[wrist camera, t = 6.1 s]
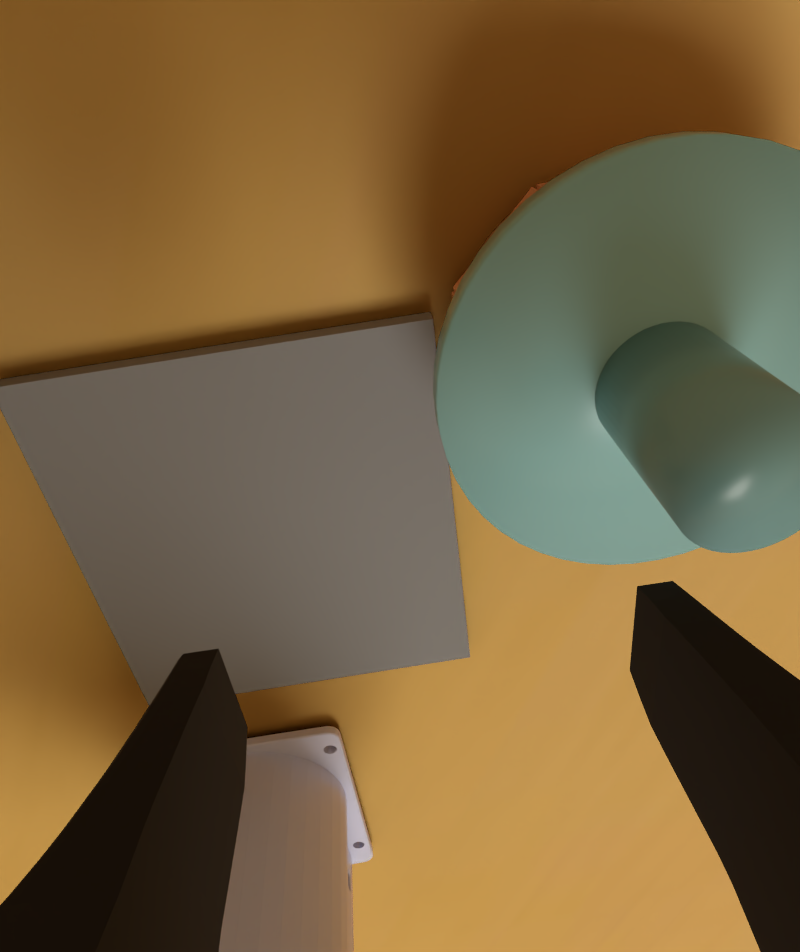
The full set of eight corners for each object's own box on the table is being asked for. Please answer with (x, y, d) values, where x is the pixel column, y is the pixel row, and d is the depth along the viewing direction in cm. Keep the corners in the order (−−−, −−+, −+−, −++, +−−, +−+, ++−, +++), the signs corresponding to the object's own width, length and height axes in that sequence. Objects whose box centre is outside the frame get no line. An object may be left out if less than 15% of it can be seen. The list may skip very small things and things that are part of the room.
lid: (801, 527, 18) (935, 658, 14) (439, 563, 18) (469, 709, 14) (933, 112, 13) (1206, 133, 9) (424, 150, 13) (466, 190, 9)
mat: (467, 645, 25) (469, 657, 25) (153, 694, 25) (149, 707, 25) (430, 311, 18) (432, 318, 18) (-1, 379, 18) (-11, 388, 18)
